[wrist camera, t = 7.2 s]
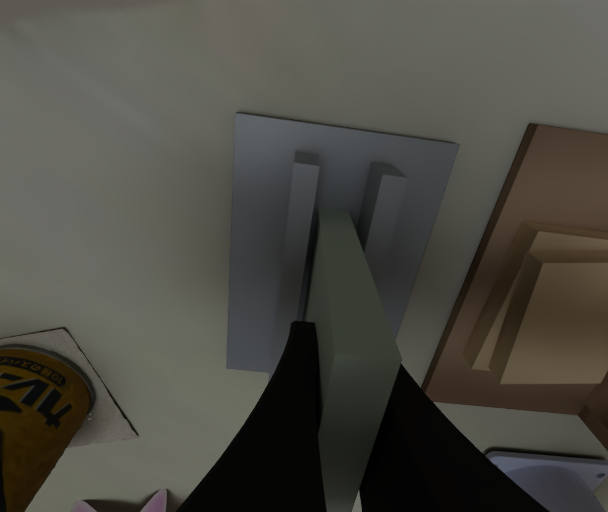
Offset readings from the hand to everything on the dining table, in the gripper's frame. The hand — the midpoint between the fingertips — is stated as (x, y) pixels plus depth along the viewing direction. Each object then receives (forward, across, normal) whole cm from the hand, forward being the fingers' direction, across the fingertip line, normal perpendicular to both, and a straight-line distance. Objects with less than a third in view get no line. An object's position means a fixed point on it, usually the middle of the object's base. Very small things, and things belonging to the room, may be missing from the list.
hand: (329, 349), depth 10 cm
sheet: (+5, 0, 0) cm, 5 cm away
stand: (+5, 0, 0) cm, 5 cm away
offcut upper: (+4, -10, 0) cm, 11 cm away
